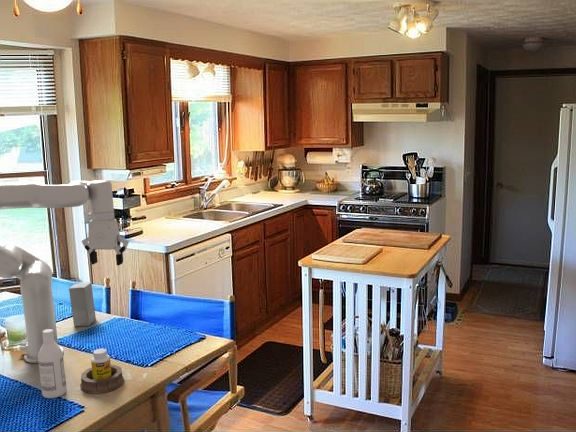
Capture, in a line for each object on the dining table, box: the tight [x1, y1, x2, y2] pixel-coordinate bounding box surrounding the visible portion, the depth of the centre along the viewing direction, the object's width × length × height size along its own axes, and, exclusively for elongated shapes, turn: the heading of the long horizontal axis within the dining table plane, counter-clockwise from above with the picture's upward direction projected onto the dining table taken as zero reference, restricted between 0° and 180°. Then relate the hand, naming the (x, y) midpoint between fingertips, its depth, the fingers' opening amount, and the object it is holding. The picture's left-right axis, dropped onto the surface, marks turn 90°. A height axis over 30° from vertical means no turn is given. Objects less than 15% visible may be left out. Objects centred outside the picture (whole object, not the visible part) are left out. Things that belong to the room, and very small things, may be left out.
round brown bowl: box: [79, 364, 125, 395], centre depth 180 cm, size 13×13×4 cm
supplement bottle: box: [90, 348, 112, 380], centre depth 179 cm, size 6×6×10 cm
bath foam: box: [37, 329, 67, 399], centre depth 173 cm, size 7×7×20 cm
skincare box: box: [68, 281, 97, 327], centre depth 231 cm, size 8×7×16 cm
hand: (107, 264), depth 203 cm, fingers open, 9 cm apart
